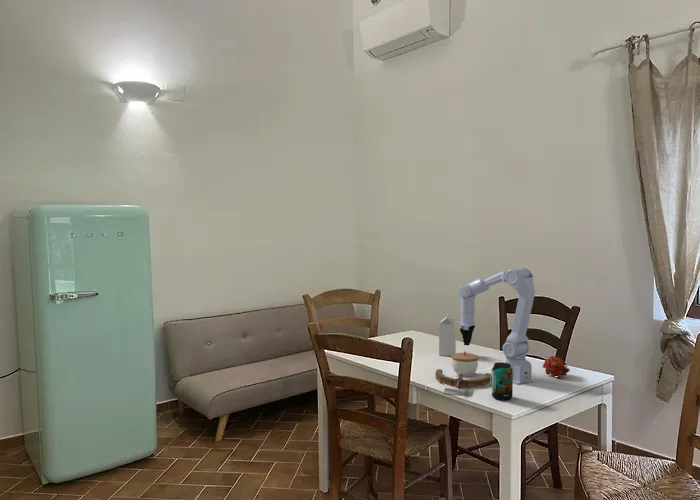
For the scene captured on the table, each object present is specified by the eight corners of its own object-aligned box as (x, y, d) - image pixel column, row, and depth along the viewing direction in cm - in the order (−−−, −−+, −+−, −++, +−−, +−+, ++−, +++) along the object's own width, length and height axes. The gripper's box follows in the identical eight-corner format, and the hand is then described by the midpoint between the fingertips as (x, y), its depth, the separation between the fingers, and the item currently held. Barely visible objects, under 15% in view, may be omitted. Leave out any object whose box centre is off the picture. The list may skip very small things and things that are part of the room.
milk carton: (438, 355, 244) (438, 315, 243) (440, 352, 251) (440, 312, 250) (454, 356, 242) (454, 316, 241) (455, 353, 249) (455, 313, 248)
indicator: (458, 377, 202) (458, 372, 202) (464, 377, 201) (464, 372, 201) (453, 388, 188) (453, 383, 188) (460, 389, 187) (460, 383, 187)
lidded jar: (478, 371, 217) (479, 349, 217) (477, 379, 207) (477, 355, 207) (452, 370, 220) (452, 348, 220) (450, 377, 210) (450, 354, 210)
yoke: (437, 375, 213) (437, 369, 213) (490, 379, 206) (490, 373, 206) (428, 392, 191) (428, 385, 191) (487, 397, 185) (487, 390, 185)
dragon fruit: (546, 375, 217) (565, 387, 206) (533, 365, 215) (552, 377, 203) (558, 358, 218) (578, 370, 206) (545, 348, 215) (565, 359, 203)
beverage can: (511, 402, 180) (511, 367, 179) (490, 399, 183) (491, 366, 182) (513, 396, 187) (513, 362, 186) (493, 393, 189) (493, 361, 189)
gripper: (460, 309, 231) (459, 339, 231) (456, 314, 217) (455, 346, 217) (476, 309, 228) (476, 340, 229) (473, 315, 215) (473, 347, 215)
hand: (467, 343), depth 223 cm, fingers open, 5 cm apart
